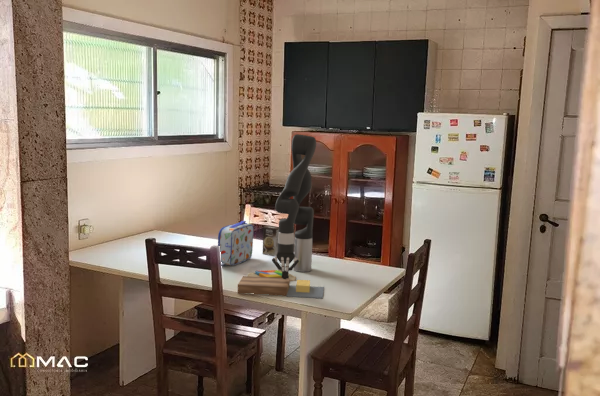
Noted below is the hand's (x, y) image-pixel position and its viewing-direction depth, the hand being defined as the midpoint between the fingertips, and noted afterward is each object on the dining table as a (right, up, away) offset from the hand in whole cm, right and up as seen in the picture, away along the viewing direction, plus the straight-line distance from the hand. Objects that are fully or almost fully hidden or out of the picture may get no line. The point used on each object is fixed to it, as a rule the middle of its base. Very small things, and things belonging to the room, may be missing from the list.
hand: (285, 278), depth 254 cm
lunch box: (-28, +2, +47) cm, 55 cm away
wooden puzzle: (-7, -3, +18) cm, 20 cm away
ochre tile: (+8, -3, 0) cm, 9 cm away
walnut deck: (-10, -5, -1) cm, 11 cm away
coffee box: (-10, +4, +67) cm, 68 cm away
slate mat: (+9, -6, -3) cm, 11 cm away
